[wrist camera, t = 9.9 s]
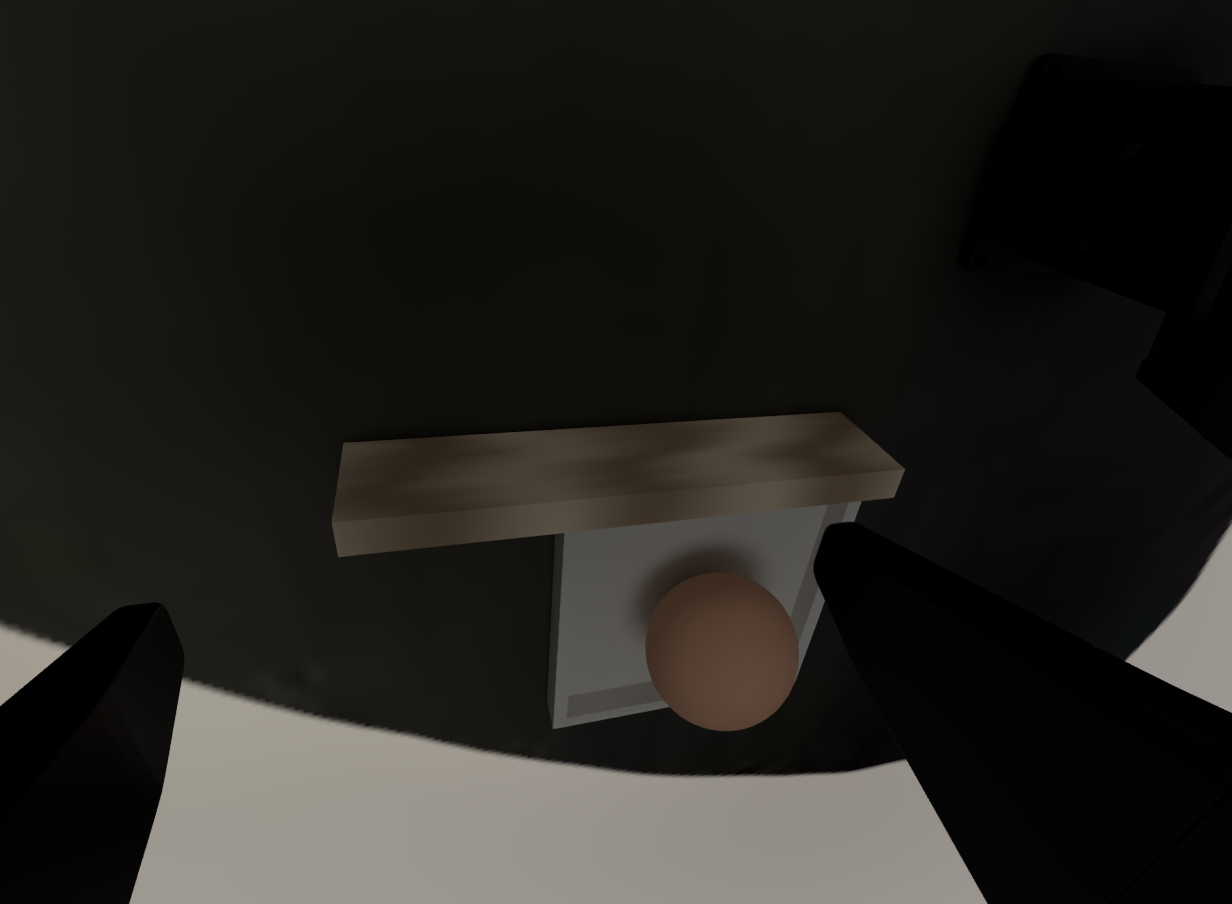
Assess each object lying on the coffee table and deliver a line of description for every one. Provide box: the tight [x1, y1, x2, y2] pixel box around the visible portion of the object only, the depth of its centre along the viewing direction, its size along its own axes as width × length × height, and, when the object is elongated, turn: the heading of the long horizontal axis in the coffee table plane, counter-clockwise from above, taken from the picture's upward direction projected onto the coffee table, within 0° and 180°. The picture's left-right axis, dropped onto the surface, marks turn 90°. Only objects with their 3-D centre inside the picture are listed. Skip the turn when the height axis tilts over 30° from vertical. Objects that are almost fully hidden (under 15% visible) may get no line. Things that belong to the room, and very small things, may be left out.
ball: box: [645, 572, 799, 731], centre depth 25 cm, size 6×6×6 cm
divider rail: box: [332, 412, 905, 557], centre depth 21 cm, size 18×1×4 cm, turn 85°
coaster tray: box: [547, 501, 861, 729], centre depth 27 cm, size 12×12×2 cm
